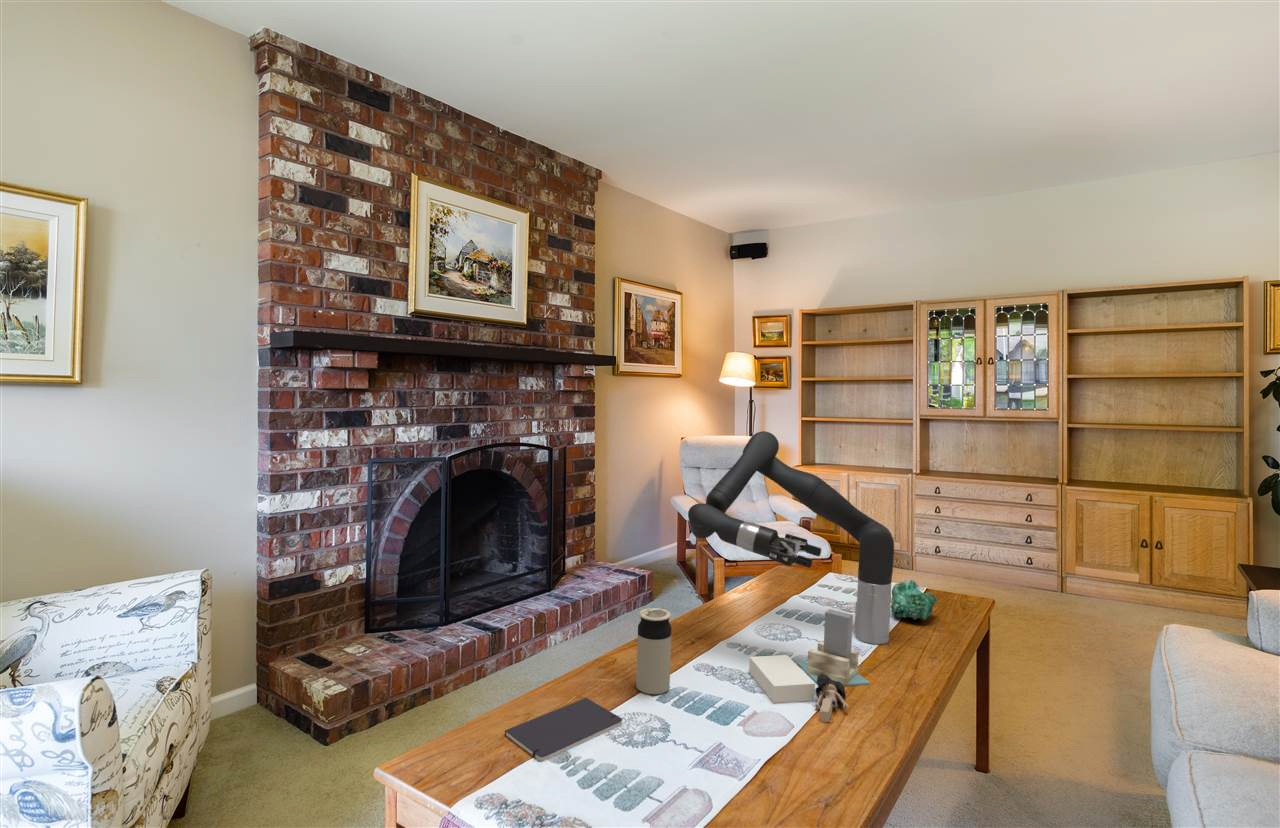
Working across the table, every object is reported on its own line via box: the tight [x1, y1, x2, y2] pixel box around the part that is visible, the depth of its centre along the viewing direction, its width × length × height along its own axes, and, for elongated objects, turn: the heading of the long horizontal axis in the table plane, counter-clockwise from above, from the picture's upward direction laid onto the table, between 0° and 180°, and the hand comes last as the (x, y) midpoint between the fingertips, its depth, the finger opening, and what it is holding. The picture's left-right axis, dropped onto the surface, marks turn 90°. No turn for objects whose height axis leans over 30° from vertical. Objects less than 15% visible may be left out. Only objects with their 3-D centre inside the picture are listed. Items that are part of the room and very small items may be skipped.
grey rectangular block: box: [823, 608, 854, 670], centre depth 163 cm, size 6×3×14 cm, turn 53°
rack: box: [806, 641, 859, 685], centre depth 164 cm, size 10×9×6 cm
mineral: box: [890, 579, 938, 622], centre depth 208 cm, size 18×16×10 cm
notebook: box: [504, 697, 623, 762], centre depth 134 cm, size 13×2×21 cm
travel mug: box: [635, 607, 672, 695], centre depth 153 cm, size 8×8×18 cm
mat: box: [797, 661, 871, 687], centre depth 164 cm, size 13×13×1 cm
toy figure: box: [814, 673, 849, 723], centre depth 147 cm, size 7×6×15 cm
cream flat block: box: [748, 654, 816, 704], centre depth 156 cm, size 16×10×4 cm, turn 11°
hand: (816, 558), depth 166 cm, fingers open, 8 cm apart
